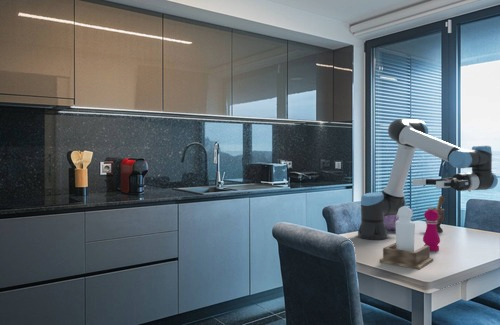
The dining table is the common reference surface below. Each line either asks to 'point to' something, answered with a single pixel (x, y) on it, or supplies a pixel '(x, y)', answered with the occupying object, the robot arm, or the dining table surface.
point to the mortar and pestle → (439, 213)
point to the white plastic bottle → (405, 230)
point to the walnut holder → (406, 257)
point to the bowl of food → (391, 221)
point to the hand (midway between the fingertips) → (424, 183)
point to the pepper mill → (431, 230)
